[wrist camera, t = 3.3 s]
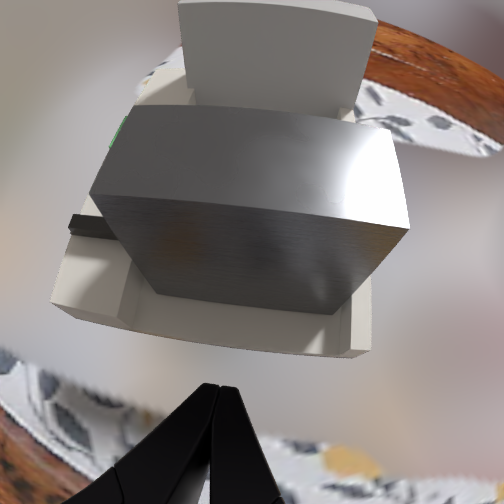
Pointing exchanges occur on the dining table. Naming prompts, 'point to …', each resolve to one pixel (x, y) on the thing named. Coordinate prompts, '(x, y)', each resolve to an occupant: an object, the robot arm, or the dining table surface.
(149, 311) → the gauge track
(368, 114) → the dining table surface
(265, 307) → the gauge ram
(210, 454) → the robot arm
